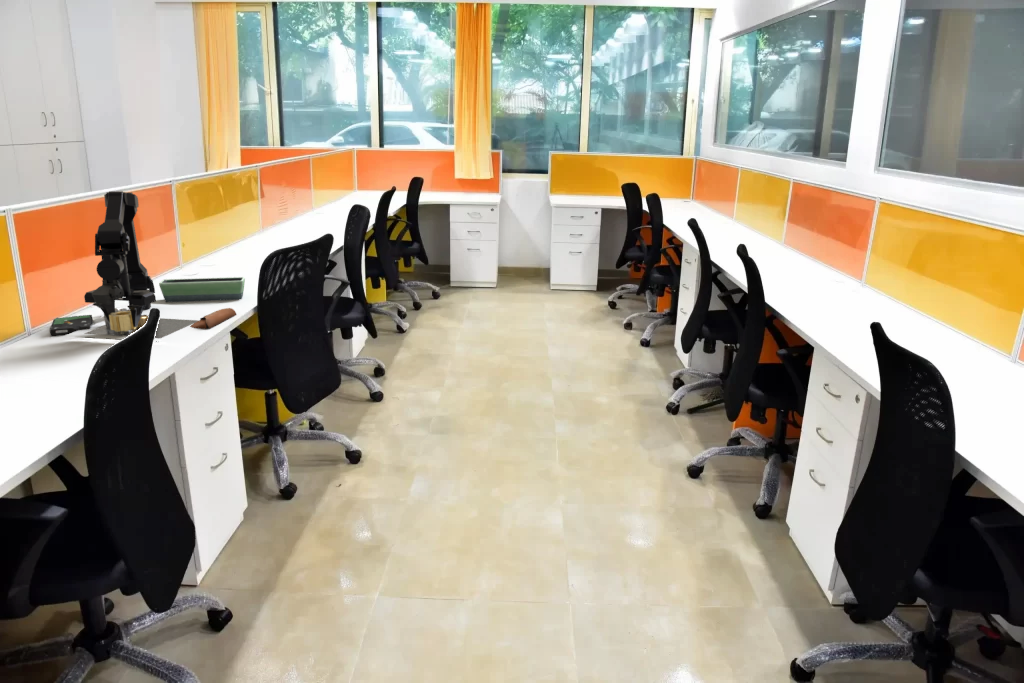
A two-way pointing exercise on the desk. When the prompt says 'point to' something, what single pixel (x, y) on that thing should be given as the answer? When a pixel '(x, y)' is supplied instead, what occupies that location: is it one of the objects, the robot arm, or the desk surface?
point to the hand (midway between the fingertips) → (124, 326)
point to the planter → (202, 289)
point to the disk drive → (70, 325)
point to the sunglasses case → (214, 319)
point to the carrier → (163, 327)
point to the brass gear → (121, 321)
